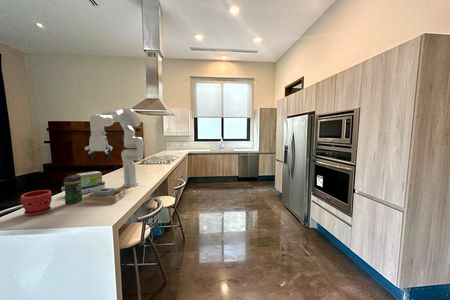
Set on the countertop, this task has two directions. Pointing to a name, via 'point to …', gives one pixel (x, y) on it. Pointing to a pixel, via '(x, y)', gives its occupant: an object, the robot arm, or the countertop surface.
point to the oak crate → (103, 198)
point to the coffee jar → (73, 189)
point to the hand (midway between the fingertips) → (99, 159)
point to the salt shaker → (101, 185)
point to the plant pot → (36, 202)
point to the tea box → (90, 181)
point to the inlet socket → (104, 192)
